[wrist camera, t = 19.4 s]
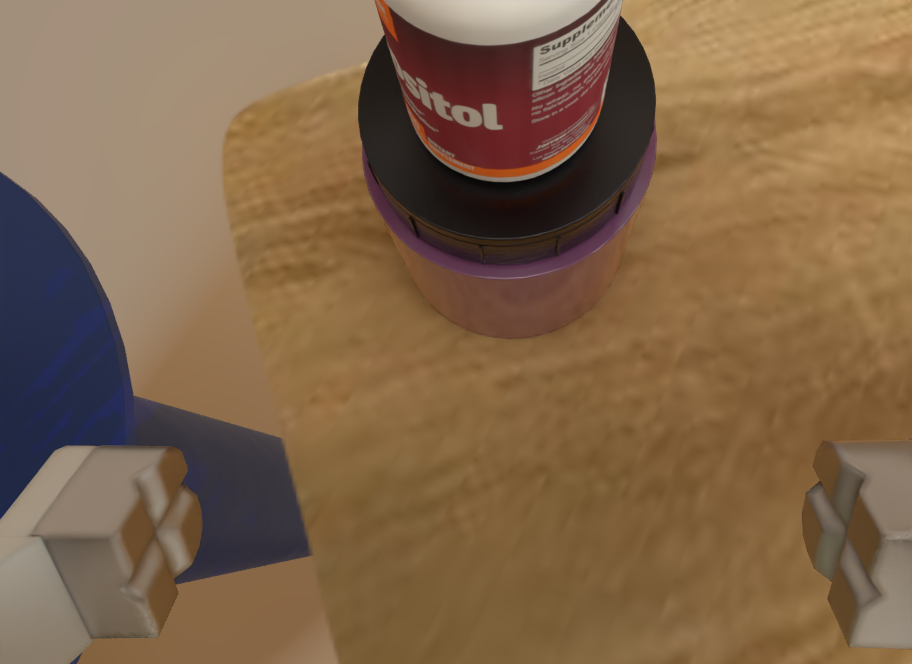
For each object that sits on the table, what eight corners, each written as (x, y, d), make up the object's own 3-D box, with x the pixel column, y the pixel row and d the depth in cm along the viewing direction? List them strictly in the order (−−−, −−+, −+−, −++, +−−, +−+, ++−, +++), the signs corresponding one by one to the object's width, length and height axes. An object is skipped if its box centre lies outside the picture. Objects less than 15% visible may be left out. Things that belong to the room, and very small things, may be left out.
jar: (411, 350, 34) (357, 278, 24) (395, 144, 37) (340, -6, 26) (640, 325, 33) (691, 239, 23) (608, 117, 36) (641, -49, 25)
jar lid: (381, 280, 25) (366, 257, 23) (365, 35, 28) (350, -8, 25) (664, 248, 25) (678, 221, 22) (623, 0, 27) (633, -48, 25)
